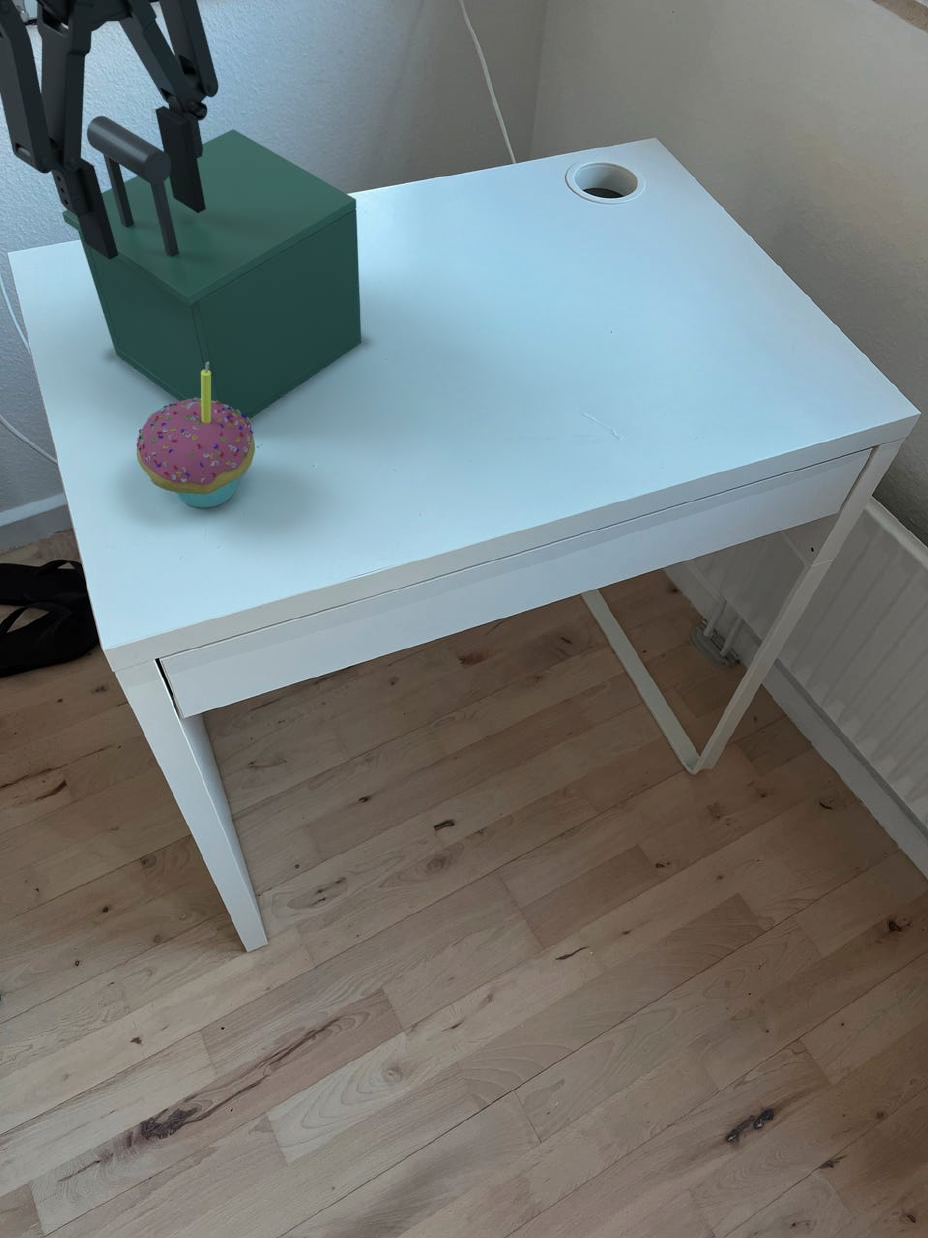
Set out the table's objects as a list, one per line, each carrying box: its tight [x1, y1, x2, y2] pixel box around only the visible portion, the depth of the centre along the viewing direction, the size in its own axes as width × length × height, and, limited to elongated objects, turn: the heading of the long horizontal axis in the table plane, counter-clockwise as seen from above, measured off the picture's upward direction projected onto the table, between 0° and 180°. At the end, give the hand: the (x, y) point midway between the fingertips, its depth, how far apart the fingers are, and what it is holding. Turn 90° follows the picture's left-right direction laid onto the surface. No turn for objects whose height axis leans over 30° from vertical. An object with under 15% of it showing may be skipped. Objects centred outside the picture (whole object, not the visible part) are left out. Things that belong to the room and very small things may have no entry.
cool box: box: [77, 208, 362, 420], centre depth 77 cm, size 16×14×13 cm
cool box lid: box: [61, 115, 357, 306], centre depth 68 cm, size 17×14×8 cm
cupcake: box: [136, 362, 256, 509], centre depth 69 cm, size 9×8×12 cm
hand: (146, 225), depth 67 cm, fingers open, 7 cm apart
